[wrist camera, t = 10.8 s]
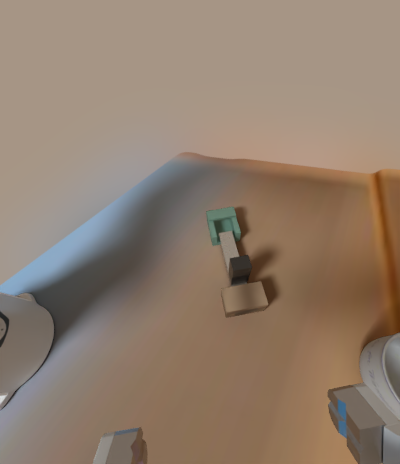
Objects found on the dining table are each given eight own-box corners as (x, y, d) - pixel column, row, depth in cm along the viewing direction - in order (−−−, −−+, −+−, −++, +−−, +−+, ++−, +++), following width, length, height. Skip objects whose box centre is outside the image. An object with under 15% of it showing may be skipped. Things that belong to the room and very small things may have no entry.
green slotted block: (212, 245, 47) (212, 236, 44) (207, 220, 51) (206, 209, 48) (239, 240, 47) (241, 231, 44) (231, 215, 51) (232, 204, 48)
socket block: (225, 317, 39) (226, 312, 35) (221, 295, 41) (221, 288, 37) (263, 310, 39) (268, 304, 35) (257, 289, 41) (260, 281, 38)
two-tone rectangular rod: (235, 307, 39) (239, 293, 32) (218, 237, 47) (218, 213, 40) (251, 304, 39) (259, 289, 32) (231, 235, 47) (234, 210, 40)
